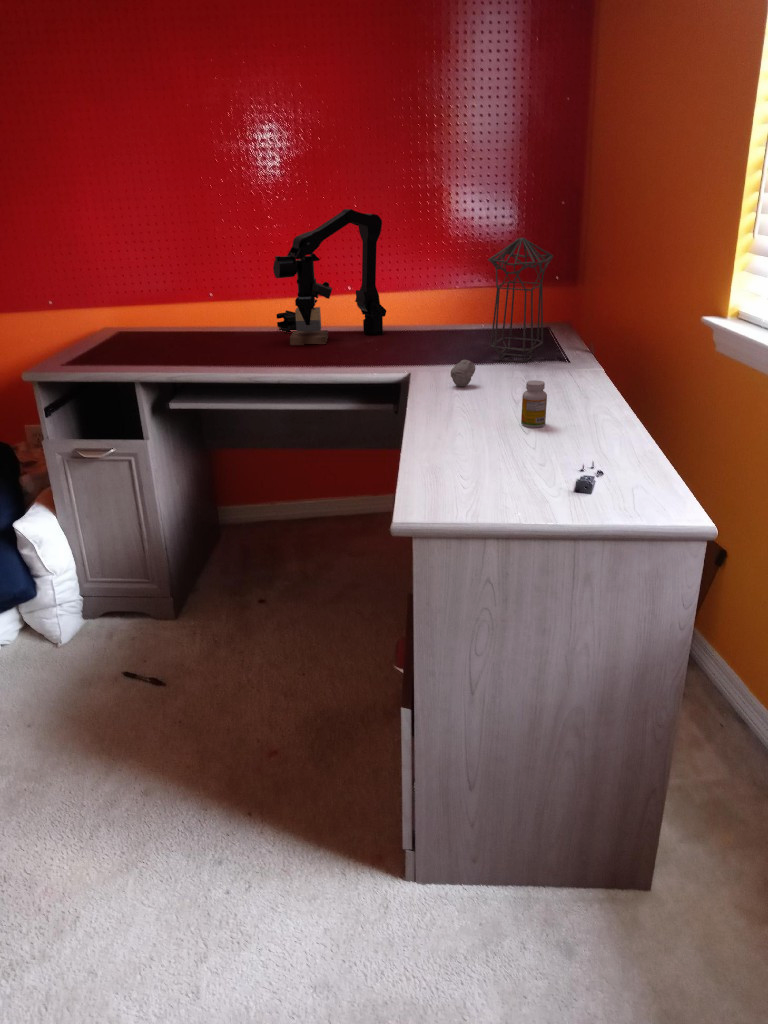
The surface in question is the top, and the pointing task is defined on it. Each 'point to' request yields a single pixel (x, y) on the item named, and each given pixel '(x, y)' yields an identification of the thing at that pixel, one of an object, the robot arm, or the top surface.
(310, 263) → the robot arm
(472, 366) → the grey rock
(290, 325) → the end cap
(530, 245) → the geometric lantern
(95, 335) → the top surface
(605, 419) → the top surface
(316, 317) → the block
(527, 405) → the supplement bottle
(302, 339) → the walnut stand
